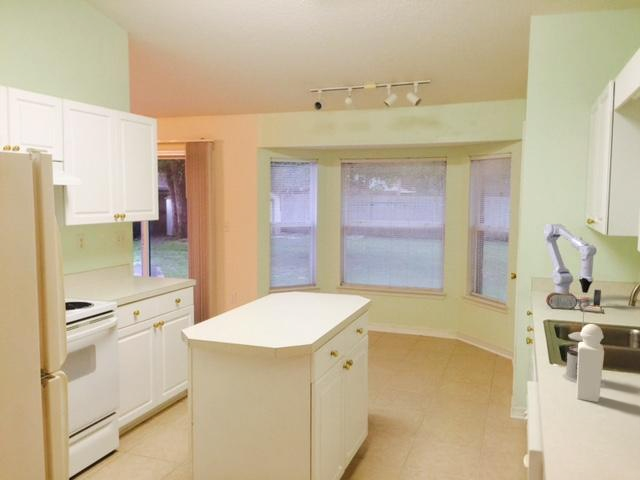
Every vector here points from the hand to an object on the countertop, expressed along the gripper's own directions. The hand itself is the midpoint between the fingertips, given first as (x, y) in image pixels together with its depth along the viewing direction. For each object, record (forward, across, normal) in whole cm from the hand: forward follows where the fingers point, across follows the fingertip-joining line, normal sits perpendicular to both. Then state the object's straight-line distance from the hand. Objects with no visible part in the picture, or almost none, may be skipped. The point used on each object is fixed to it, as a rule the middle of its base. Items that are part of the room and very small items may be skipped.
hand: (584, 292), depth 273 cm
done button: (+6, 0, 0) cm, 6 cm away
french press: (+8, +116, -42) cm, 123 cm away
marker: (+7, 0, +6) cm, 10 cm away
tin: (+8, +9, -14) cm, 19 cm away
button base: (+7, 0, 0) cm, 7 cm away
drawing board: (+7, +9, 0) cm, 12 cm away
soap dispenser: (+8, +132, -46) cm, 140 cm away
